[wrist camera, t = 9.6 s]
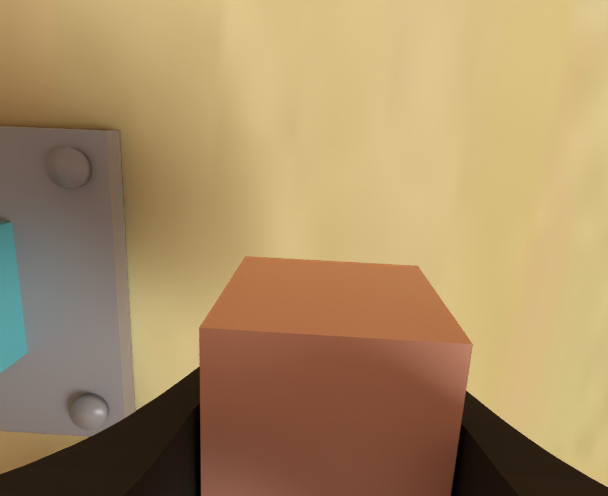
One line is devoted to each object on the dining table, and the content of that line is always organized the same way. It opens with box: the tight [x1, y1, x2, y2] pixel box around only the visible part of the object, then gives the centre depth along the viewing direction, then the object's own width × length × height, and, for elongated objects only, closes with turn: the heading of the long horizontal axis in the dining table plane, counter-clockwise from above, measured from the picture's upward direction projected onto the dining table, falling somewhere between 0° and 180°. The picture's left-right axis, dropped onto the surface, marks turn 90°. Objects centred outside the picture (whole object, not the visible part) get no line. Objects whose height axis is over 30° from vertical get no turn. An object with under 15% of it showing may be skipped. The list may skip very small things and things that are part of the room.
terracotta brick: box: [199, 256, 473, 496], centre depth 10 cm, size 6×4×4 cm
